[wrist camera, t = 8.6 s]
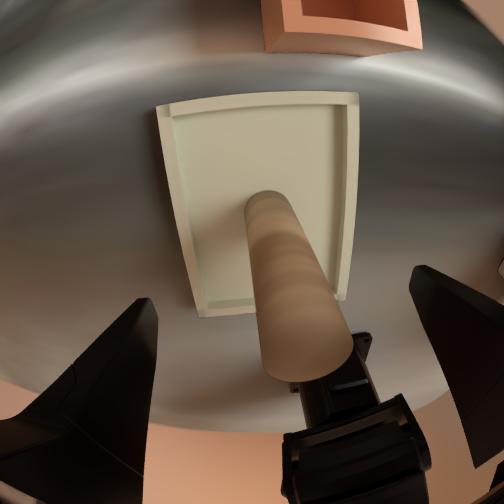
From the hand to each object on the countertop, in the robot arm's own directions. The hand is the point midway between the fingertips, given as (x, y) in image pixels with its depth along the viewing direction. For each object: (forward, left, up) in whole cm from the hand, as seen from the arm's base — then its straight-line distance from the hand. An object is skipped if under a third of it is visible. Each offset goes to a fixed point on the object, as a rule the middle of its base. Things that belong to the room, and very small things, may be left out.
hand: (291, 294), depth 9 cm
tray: (0, 0, -7) cm, 7 cm away
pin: (0, 0, -6) cm, 7 cm away
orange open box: (+10, -3, -7) cm, 13 cm away
